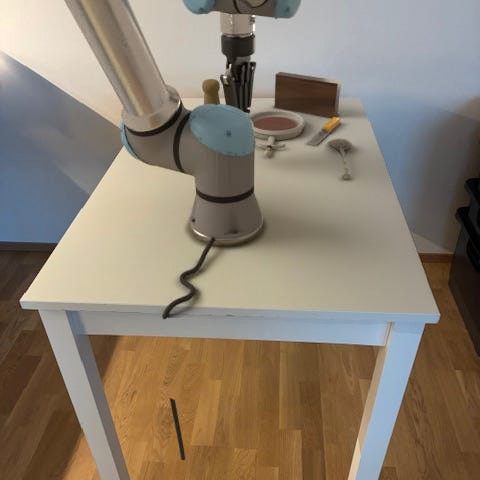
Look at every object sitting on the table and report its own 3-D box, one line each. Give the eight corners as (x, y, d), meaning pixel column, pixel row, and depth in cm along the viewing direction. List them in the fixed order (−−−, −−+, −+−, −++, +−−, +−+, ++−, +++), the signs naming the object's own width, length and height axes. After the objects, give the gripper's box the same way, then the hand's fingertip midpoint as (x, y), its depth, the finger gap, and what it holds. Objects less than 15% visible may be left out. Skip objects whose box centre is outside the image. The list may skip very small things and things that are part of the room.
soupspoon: (350, 145, 133) (326, 146, 134) (351, 133, 131) (326, 133, 132) (359, 179, 116) (331, 180, 117) (360, 166, 114) (332, 167, 115)
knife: (316, 145, 132) (317, 139, 131) (308, 144, 133) (308, 138, 132) (340, 123, 143) (340, 118, 142) (332, 122, 144) (333, 116, 143)
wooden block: (333, 118, 146) (337, 83, 140) (274, 107, 154) (275, 74, 147) (337, 115, 148) (341, 80, 142) (278, 104, 156) (279, 71, 149)
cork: (213, 113, 151) (211, 75, 143) (226, 118, 147) (225, 80, 140) (198, 118, 148) (196, 80, 140) (211, 124, 144) (209, 84, 137)
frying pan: (234, 147, 126) (250, 107, 146) (235, 158, 128) (250, 117, 148) (300, 151, 124) (307, 109, 144) (299, 161, 126) (306, 119, 146)
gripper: (238, 42, 99) (240, 153, 115) (267, 28, 107) (265, 133, 123) (207, 38, 102) (213, 147, 118) (237, 25, 110) (239, 128, 126)
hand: (240, 140), depth 121 cm, fingers closed
